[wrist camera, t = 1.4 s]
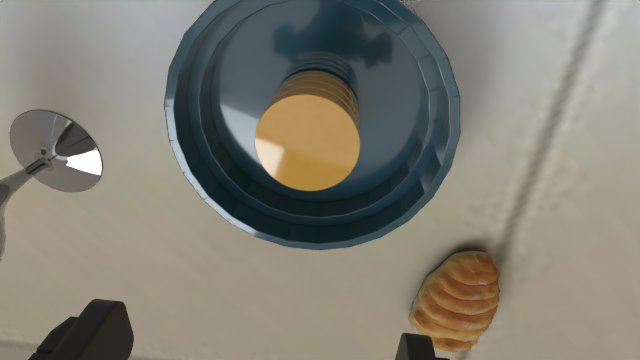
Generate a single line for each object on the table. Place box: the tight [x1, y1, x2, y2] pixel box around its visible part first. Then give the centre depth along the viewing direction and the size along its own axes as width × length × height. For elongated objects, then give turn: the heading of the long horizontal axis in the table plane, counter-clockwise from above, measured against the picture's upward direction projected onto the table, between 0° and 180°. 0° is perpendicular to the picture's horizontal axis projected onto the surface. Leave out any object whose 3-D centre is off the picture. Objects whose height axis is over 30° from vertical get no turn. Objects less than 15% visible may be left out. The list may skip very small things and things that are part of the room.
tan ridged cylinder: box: [255, 71, 360, 191], centre depth 24 cm, size 6×6×5 cm
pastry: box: [408, 251, 500, 352], centre depth 32 cm, size 9×7×4 cm
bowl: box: [164, 0, 460, 250], centre depth 25 cm, size 17×17×4 cm
